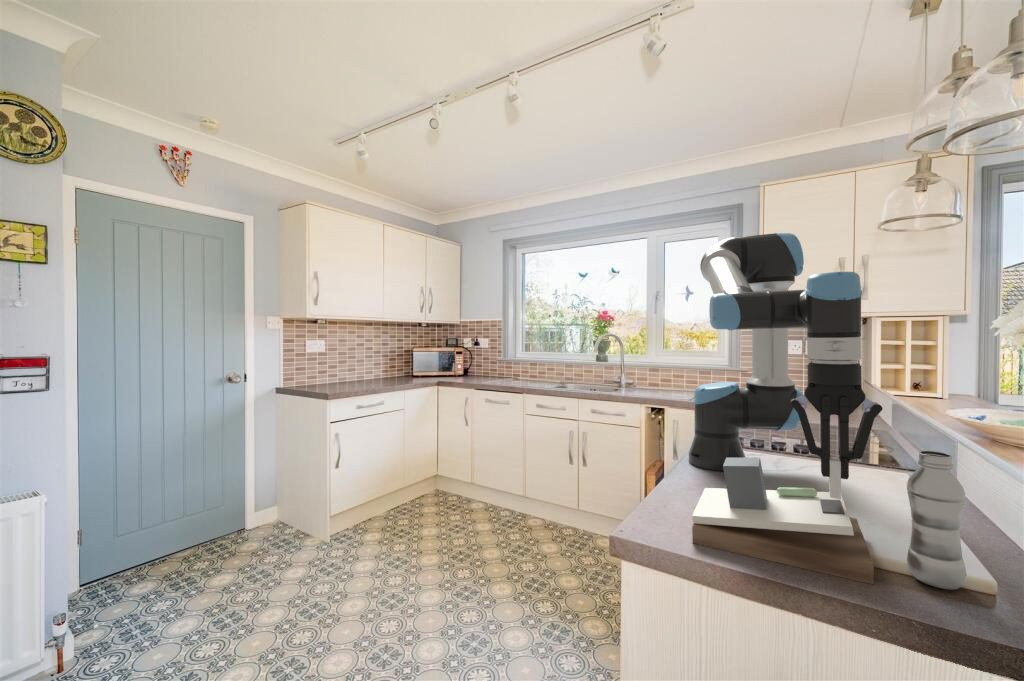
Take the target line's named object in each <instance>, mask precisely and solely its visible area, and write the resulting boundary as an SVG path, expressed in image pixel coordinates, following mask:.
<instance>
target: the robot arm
mask: <svg viewBox="0 0 1024 681" xmlns="http://www.w3.org/2000/svg"><path fill="white" fill-rule="evenodd" d="M699 265H700V272H701V275H702V277H703V278H704V280H705V281H706V282H708V283H709V285H710V288H711V291H712V293H713V295H712V296H711V297H710V299H709V312H708V313H709V322H710V326H711V327H712V328H713V329H714V330H728V331H735V330H751V341H752V342H751V351H752V352H751V353H752V354H751V357H752V359H751V360H752V363H751V366H752V367H751V368H752V370H751V372H752V374H751V376H750V377H749V378H748V379H746V381H745V384H746V385H745V387H740V386H739V384H738V383H737V382H734V381H728V382H727V381H720V382H719V381H718V382H711V383H705V384H701V385H699V386H697V387H696V388H695V390H694V396H693V405H694V436H693V439H692V443H691V445H690V447H689V451H688V462H689V463H690V464H691V465H694V466H695V467H698V468H701V469H705V470H710V471H717V472H724V470H723V464H724V462H725V460H726V458H747V456H746V455H745V451H744V449H743V446H742V444H741V440H740V435H739V434H740V429H741V430H742V429H744V430H746V429H747V430H763V431H764V430H766V431H767V430H768V431H775V432H779V431H792V430H795V429H796V428H797V427H798V426H799V425H800V424H801V428H802V432H803V435H804V438H805V441H806V445H807V448H808V452H809V454H811V455H814V456H815V455H816V456H817V457H820V472H821V475H822V477H824V478H828V492H829V495H830V498H836V499H841V495H842V480H848V479H849V477H850V472H849V470H850V461H852V460H861V459H862V458H863V457H864V453H865V450H866V447H867V445H868V444H867V443H868V441H869V436H870V435H871V431H872V427H873V424H874V421H875V419H876V418H877V417H878V415H879V414H880V413H881V412H882V411H883V406H882V405H881V404H880V403H878V402H874V401H872V400H871V399H869V398H867V396H866V393H865V392H864V391H863V387H862V381H863V380H862V365H861V364H860V363H858V361H860V360H861V359H862V295H863V291H862V287H861V277H860V275H859V274H858V273H857V272H854V271H832V272H824V273H823V272H822V273H816V274H812V275H810V276H809V277H808V278H807V280H806V287H805V289H795V290H794V289H791V290H790V289H789V288H791V287H792V286H793V284H795V283H796V277H798V276H800V275H801V274H802V273H803V270H804V252H803V248H802V244H801V242H800V240H799V238H798V236H796V235H795V234H794V233H789V232H786V233H785V232H784V233H783V232H774V233H767V234H757V235H756V234H755V235H747V236H746V235H745V236H732V237H729V238H726V239H723V240H720V241H719V242H717V243H715V244H714V245H712V246H711V247H710V248H708V249H707V251H705V253H704V254H703V256H702V258H701V261H700V264H699ZM789 329H807V331H806V332H807V334H806V335H807V337H806V339H807V340H806V342H807V343H806V344H807V345H806V349H807V350H806V351H807V352H806V354H807V355H806V356H807V359H808V360H811V361H810V362H808V364H807V386H806V388H805V390H804V392H803V393H804V394H803V393H802V390H800V389H799V388H797V387H796V386H795V385H796V382H794V381H793V380H792V379H791V378H790V377H789ZM807 401H809V403H810V404H811V405H812V406H813V407H814V409H815V410H816V411H817V412H818V413H819V416H820V417H819V419H820V423H819V424H820V429H819V430H820V447H819V446H817V445H816V441H815V438H814V434H813V431H812V428H811V425H810V421H809V418H808V414H807V411H806V408H807V407H808V404H807ZM861 405H862V407H861V409H862V411H863V413H862V415H861V416H862V417H861V420H860V423H859V426H858V430H857V431H856V432H857V433H856V436H855V438H854V442H853V445H852V449H850V429H849V428H850V427H849V425H850V424H849V422H850V415H851V414H853V413H854V412H855V410H857V409H858V407H860V406H861ZM832 415H835V416H837V420H838V422H837V423H838V424H837V425H838V426H837V427H838V428H837V429H838V433H837V434H838V457H837V456H831V416H832Z"/></svg>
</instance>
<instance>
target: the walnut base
mask: <svg viewBox="0 0 1024 681" xmlns="http://www.w3.org/2000/svg"><path fill="white" fill-rule="evenodd" d="M849 518H850V521H851V524H852V527H853V533H854V536H852V535H839V534H826V533H813V532H800V531H787V530H774V529H760V528H747V527H734V526H721V525H708V524H695V523H693V522H692V527H691V530H692V532H691V535H692V544H695V545H699V544H700V546H703V545H704V547H708V546H709V548H712V547H713V549H717V550H721V551H726V552H730V553H734V554H740V555H743V556H748V557H752V558H756V559H760V560H766V561H770V562H774V563H779V564H782V565H786V566H787V565H788V566H791V567H796V568H799V569H800V568H801V569H806V570H809V571H813V572H817V573H823V574H827V575H832V576H835V577H840V578H844V579H849V580H852V581H853V580H854V581H856V582H862V583H867V584H869V585H870V584H871V585H874V584H875V583H874V582H875V581H874V580H875V574H874V572H875V571H874V570H875V566H874V565H875V564H874V561H873V558H872V557H871V556H872V555H871V553H870V551H869V549H868V545H867V543H866V540H865V538H864V534H863V532H862V528H861V527H860V525H859V522H858V519H857V517H852V516H851V517H850V516H849Z"/></svg>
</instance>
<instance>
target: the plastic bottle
mask: <svg viewBox="0 0 1024 681" xmlns="http://www.w3.org/2000/svg"><path fill="white" fill-rule="evenodd" d="M917 464H918V465H919V468H918V469H916V470H915V471H914V472H913V473H912V474H910V476H909V477H908V479H907V482H906V490H907V495H908V502H909V506H910V515H911V516H910V517H911V533H910V543H909V546H908V549H907V556H906V562H907V567H908V571H909V572H910V573H911V574H912V576H913V577H914V578H915V579H917V580H918V581H920V582H921V583H923V584H926V585H929V586H931V587H934V588H937V589H943V590H949V591H950V590H951V591H953V590H954V591H955V590H958V589H960V588H961V587H963V586H964V585H965V582H966V578H967V570H966V565H965V564H966V563H965V561H964V558H963V551H962V544H961V525H962V524H961V523H962V515H963V511H964V510H963V509H964V505H965V500H966V492H965V489H964V486H963V484H962V483H961V482H960V481H959V480H958V478H957V477H956V476H955V475H954V474H953V473H952V472H951V470H952V469H954V464H953V455H952V454H950V453H946V452H941V451H935V450H919V452H918V460H917Z"/></svg>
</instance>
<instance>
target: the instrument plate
mask: <svg viewBox="0 0 1024 681" xmlns="http://www.w3.org/2000/svg"><path fill="white" fill-rule="evenodd" d="M723 470H724V471H723V474H724V481H725V485H726V488H719V487H705V488H704V489H703V491H702V494H700V498H699V500H698V502H697V504H696V507H695V509H694V511H693V513H692V514H691V515H692V516H691V518H692V524H693V523H695V524H708V525H721V526H734V527H747V528H760V529H774V530H787V531H800V532H813V533H826V534H839V535H852V536H854V533H853V527H852V524H851V521H850V518H849V517H850V516H849V513H848V509H847V506H846V504H845V501H844V498H843V496H842V495H843V494H841V499H836V498H830V495H829V491H817V490H816V489H815V488H812V487H786V486H785V487H784V486H782V487H781V486H779V487H777V489H775V490H773V489H766V484H765V478H764V472H763V468H762V460H761V457H746V458H726V460H725V462H724V464H723Z"/></svg>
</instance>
